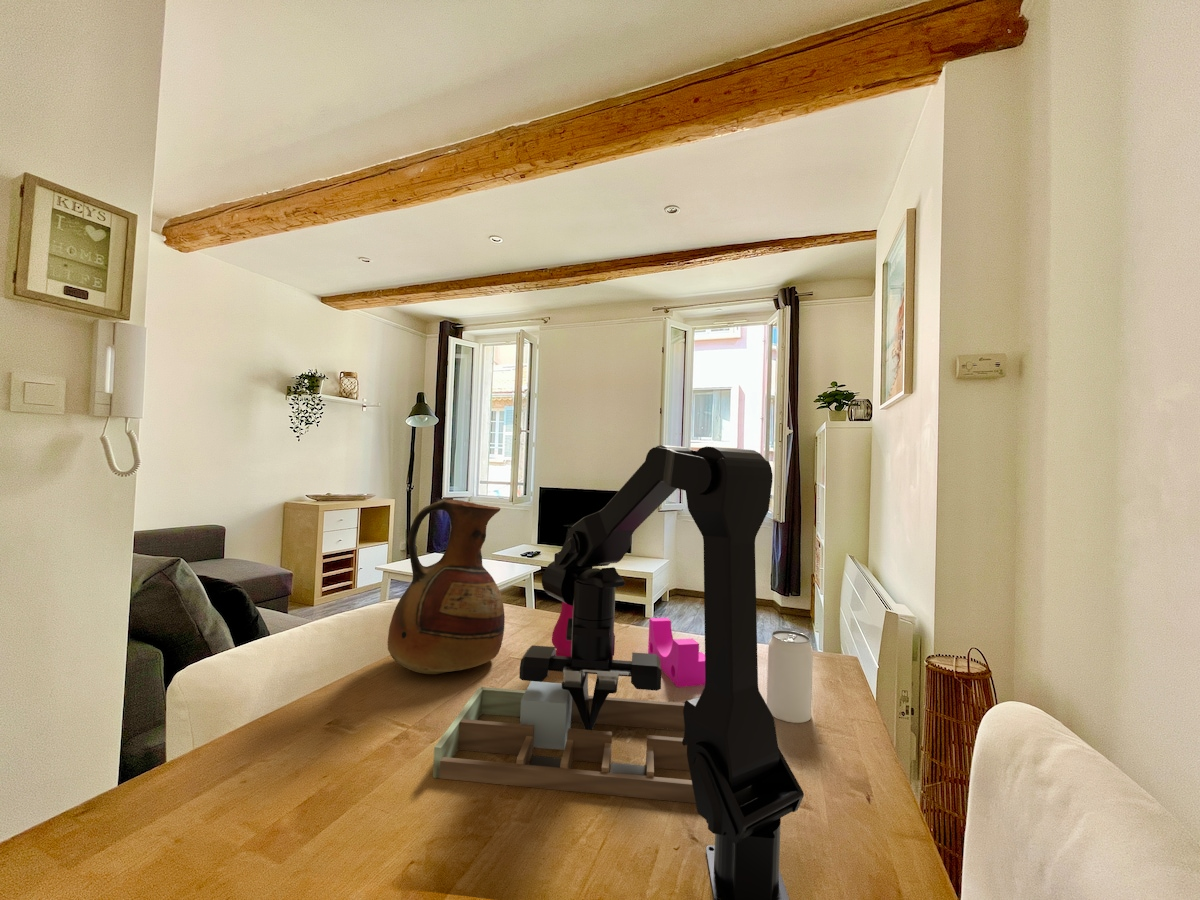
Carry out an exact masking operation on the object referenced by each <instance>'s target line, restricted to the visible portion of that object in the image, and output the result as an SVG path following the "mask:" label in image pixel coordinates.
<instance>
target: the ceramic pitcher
mask: <svg viewBox="0 0 1200 900" xmlns="http://www.w3.org/2000/svg"><path fill="white" fill-rule="evenodd" d="M435 511H436V512H437V511H444V512H446V513H447V515H448V516H449V519H450V533H449V539H448V542H447V543H448V544H447V546H446V549H445V551H444V553H443V555H442V557H441V558H440V559H439V560H438V561H436V562H435V563H433V564H431V565H428V566H424V565H423V564H422V563H421V562H420V559H419V557H418V551H417V546H416V545H417V541H416V539H417V536H418V532H419V529H420V526H421V524H422V522H423V520H425V518H426V517H427V516H428V514H431V513H433V512H435ZM500 511H501V507H499V506H492V505H491V506H488V505H483V504H477V503H474V502H469V501H465V500H461V499H460V500H459V499H451V498H450V499H449V498H443V499H441V500H438V501H437V502H436V501H435V502H433V503H431V504H429V505H427V506H424V507H423V508H422V509H421V510H419V511H418V512H417V515H416V516H415V518H414V520H413V522H412V524H411V526H410V528H409V533H408V538H407V546H408V548H407V549H408V553H409V558H410V560H409V561H410V566H411V571H412V579H411V582H410V584H409V586H408V587H407V588H406V590H405V591H404V592H403V594H402V595H401V596H400V598H399V600H398V602H397V604H396V606H395V608H394V610H393V611H394V612H393V614H392V616H391V621H390V624H389V627H388V636H387V651H388V653H389V654H390V657H391V659H393V660H394V661H395V662H397V663H398V664H399V665H400V666H402V667H403V668H406V669H408V670H409V671H413V672H416V673H418V674H423V675H425V674H426V675H440V674H444V673H448V672H449V673H452V672H455V671H457V672H458V671H462V670H468V669H471V668H475V667H479V666H481V665H483V664H486V663H489V662H490V661H491V660H494V659H495V658H496V657H497V656H498V654H499V652H500V650H501V647H502V644H503V639H504V635H505V634H504V633H505V620H506V619H505V608H504V607H505V606H504V601H503V596H502V593H501V591H500V589H499V587H498V584H497V583H496V581H495V580H494V578H493V576H492V575H491V574H490V573H489V572H488V571H489V570H487V569H486V568H485V567H484V565H483V554H482V548H483V545H484V543H485V541H486V537H487V527H488V523H489V522H490V520H491V519H492V518H493V517H494V516H495V515H496V514H498V513H499V512H500Z"/></svg>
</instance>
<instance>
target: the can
mask: <svg viewBox="0 0 1200 900" xmlns="http://www.w3.org/2000/svg"><path fill="white" fill-rule="evenodd" d="M767 650H768V651H767V677H766V678H767V680H766V684H767V685H766V704H767V706H768V708H769V710H770V711H771V713H772V715H773V718H774V719H775V718H776V719H777V720H780V721H783V722H787V723H792V724H801V723H805V722H809V720H811V719H812V706H813V705H812V703H813V702H812V700H813V668H814V663H813V662H814V651H813V647H812V644H811V638H810V637H809V636H808V635H806V634H805V633H801V632H798V631H792V630H786V629H785V630H783V629H782V630H781V629H780V630H775V631H774V630H773V631H772V632H771V638H770V640H769V641H768V648H767Z"/></svg>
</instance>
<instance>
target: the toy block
mask: <svg viewBox="0 0 1200 900" xmlns="http://www.w3.org/2000/svg"><path fill="white" fill-rule="evenodd" d="M647 647H648V649H647V653H648V654H657V656H658V657H659V658H660V662H661V671H663V673H664V674H665V675H666V676H667V677H668V678H669V679H670V681H671V682H672V683H673V684H674V685H675V686H676V688H685V687H694V686H695V687H697V686H705V653H704V652H703V651H701V652H700V643H699V642H698V641H697V640H695V639H694V638H676V639H675V638H674V637H673V631H672V620H670V619H669V617H650V618H649V622H648V645H647Z"/></svg>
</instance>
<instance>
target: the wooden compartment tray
mask: <svg viewBox="0 0 1200 900" xmlns="http://www.w3.org/2000/svg"><path fill="white" fill-rule="evenodd" d="M525 692H526V690H523V689H511V688H497V687H485V686H484V687H483V686H479V687H478V688H477V689H476V690H475V692H474V693H473V695H472V696H471V697H470V698H469V699H468V701H467V703H466V704H465V705H464V706H463V708H462V710H461V711H460V712H459V713H458V715H457V716H456V718H455V719H454V720H453V721H452V723H451V724H450V725H449V727H448V728H447V729H446V731H445V732H444V734H443V735H442V737H440V739H439V740H438V741H437V743H436V744H435V745H434V748H433V766H432V767H433V768H432V769H433V770H432V778H433V779H442V780H443V779H444V780H455V781H464V782H465V781H466V782H474V783H485V784H493V785H494V784H496V785H504V786H505V785H506V786H512V787H513V786H514V787H515V786H516V787H526V788H535V789H546V790H555V791H556V790H557V791H566V792H567V791H568V792H577V793H585V794H586V793H588V794H596V795H597V794H598V795H608V796H618V797H629V798H637V799H638V798H640V799H649V800H656V801H657V800H659V801H666V802H667V801H670V802H679V803H688V804H690V803H691V804H696V801H695V796H694V790H693V785H692V780H691V779H683V778H673V777H661V776H655V769H664V770H674V771H675V770H676V771H685V772H690V769H689V764H688V759H687V745H685V746H684V745H683V744H682V741H683V738H684V737H675V736H672V737H671V736H663V735H653V734H652V735H649V734H646V747H645V748H646V750H645V751H646V753H645V754H646V755H645V765H641V764H630V763H629V764H628V763H620V762H619V763H618V762H612V746H613V745H612V744H613V731H606V730H603V731H602V730H585V728H584V729H583V728H582V729H581V728H568V731H567V742H566V745H565V749H564V750H563V752H562V753H563V754H562V757H553V756H544V755H543V756H542V755H534V747H533V746H534V725H526V724H520V723H512V722H503V721H502V722H501V721H491V720H479V719H480V717H481V715H491V716H503V717H504V716H505V717H514V718H515V717H517V718H520V712H521V699H522V697H523V695H524V694H525ZM592 701H593V695H589V710H590V713H591V707H592ZM684 704H685V702H684V703H683V702H670V701H659V700H658V701H657V700H645V699H633V698H623V697H621V698H620V697H612V696H611V697H610V696H607V698H606V700H605V701H604V703H603V705H602V707H601V709H600V711H599V714H598V716H597V719H596V722H595V724H597V725H606V726H608V725H609V726H610V725H611V726H620V727H621V726H622V727H632V728H643V729H644V728H646V729H656V730H668V731H669V730H670V731H679V732H684V731H685V724H684V715H683V709H684ZM572 722H575V723H576V722H577V723H583V722H582V720H581V717H580V714H579V711H578V708H577V706H576V704H575V702H574V700H573V698H572V710H571V723H572ZM458 751H469V752H480V753H488V754H489V753H491V754H502V755H511V756H512V755H513V756H517V757H516V760H515V761H516V762H515V763H513V762H512V763H510V762H502V761H501V762H500V761H492V760H491V761H490V760H479V759H468V758H458V757H455V755H456V754H457V752H458ZM573 761H575V762H576V761H577V762H588V763H601V771H597V770H588V769H587V770H585V769H577V768H576V769H575V768H572V763H573Z"/></svg>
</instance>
